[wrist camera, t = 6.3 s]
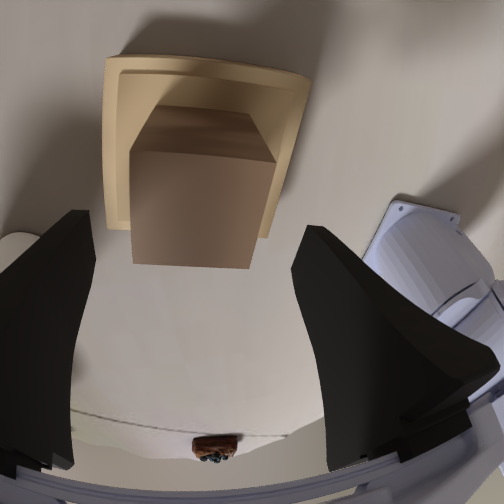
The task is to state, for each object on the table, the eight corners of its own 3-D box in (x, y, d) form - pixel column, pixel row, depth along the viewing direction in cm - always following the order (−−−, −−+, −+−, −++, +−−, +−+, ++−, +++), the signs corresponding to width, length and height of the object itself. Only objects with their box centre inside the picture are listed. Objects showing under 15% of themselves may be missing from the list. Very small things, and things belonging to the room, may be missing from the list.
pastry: (237, 432, 58) (241, 456, 54) (236, 443, 66) (239, 463, 62) (188, 436, 56) (190, 459, 52) (193, 446, 64) (195, 466, 60)
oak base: (297, 73, 15) (313, 81, 13) (260, 216, 21) (268, 240, 19) (118, 54, 12) (104, 58, 10) (115, 206, 19) (106, 231, 17)
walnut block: (248, 113, 14) (276, 163, 9) (232, 192, 16) (248, 268, 12) (155, 104, 12) (129, 150, 8) (150, 186, 15) (133, 263, 11)
